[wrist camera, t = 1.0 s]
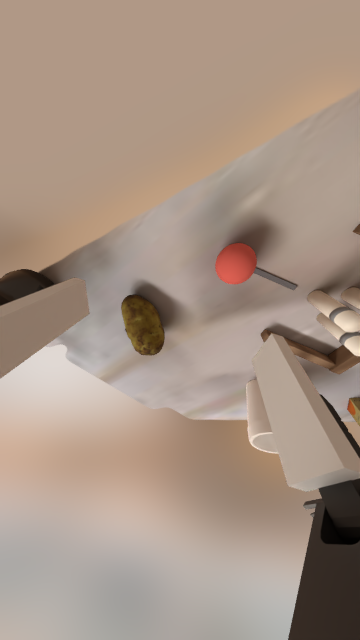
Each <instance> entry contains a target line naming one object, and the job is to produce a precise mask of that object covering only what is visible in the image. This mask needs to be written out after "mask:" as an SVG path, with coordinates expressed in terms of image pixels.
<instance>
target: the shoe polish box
mask: <svg viewBox="0 0 360 640" xmlns="http://www.w3.org/2000/svg"><path fill="white" fill-rule="evenodd" d="M347 410H348V411H349V412H350V414H351V415H352V416H353V418H354V419H355V421H356V422H357V423H358V425H359V426H360V398H349V403H348V408H347Z"/></svg>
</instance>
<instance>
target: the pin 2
mask: <svg viewBox="0 0 360 640" xmlns="http://www.w3.org/2000/svg"><path fill="white" fill-rule="evenodd" d="M341 298H342V299H343V300H344V301H346V302H348V303H349V304H351V305H353V306H355V307H356V308H358V309H360V289H359V288H356V287H352V288H348V289H346V290H345V291H344V292H343V293H342V295H341Z"/></svg>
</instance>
